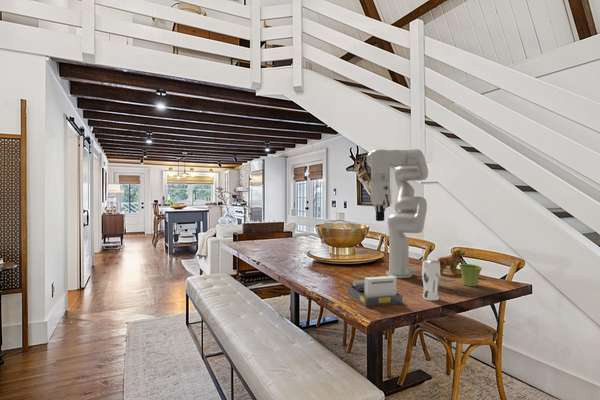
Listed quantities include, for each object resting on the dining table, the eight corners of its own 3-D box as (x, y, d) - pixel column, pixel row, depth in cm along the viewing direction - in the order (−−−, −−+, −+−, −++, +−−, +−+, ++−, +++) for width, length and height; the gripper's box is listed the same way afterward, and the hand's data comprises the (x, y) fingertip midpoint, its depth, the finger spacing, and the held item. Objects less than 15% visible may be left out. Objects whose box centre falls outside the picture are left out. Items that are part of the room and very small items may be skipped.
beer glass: (418, 295, 135) (418, 259, 135) (434, 295, 136) (435, 259, 135) (426, 301, 128) (426, 263, 128) (443, 301, 129) (443, 263, 128)
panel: (392, 298, 130) (392, 275, 130) (396, 300, 127) (396, 277, 127) (364, 300, 127) (364, 277, 127) (367, 303, 124) (368, 279, 124)
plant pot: (479, 283, 154) (479, 264, 154) (483, 288, 145) (484, 269, 145) (457, 281, 157) (457, 263, 157) (460, 286, 148) (460, 267, 148)
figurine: (438, 275, 168) (437, 250, 168) (432, 273, 174) (431, 248, 174) (465, 274, 169) (465, 249, 169) (459, 271, 176) (458, 247, 175)
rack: (380, 290, 142) (380, 277, 142) (402, 303, 126) (402, 289, 126) (347, 292, 138) (347, 279, 138) (365, 306, 122) (366, 292, 122)
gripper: (397, 178, 135) (397, 222, 137) (379, 178, 150) (379, 218, 151) (381, 178, 133) (381, 223, 135) (364, 178, 148) (364, 219, 149)
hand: (380, 220), depth 143 cm, fingers closed
